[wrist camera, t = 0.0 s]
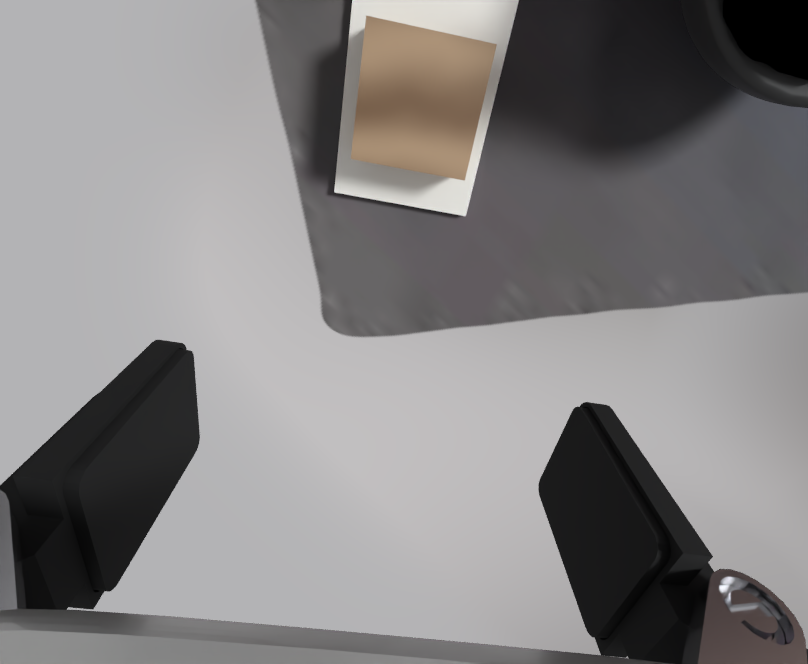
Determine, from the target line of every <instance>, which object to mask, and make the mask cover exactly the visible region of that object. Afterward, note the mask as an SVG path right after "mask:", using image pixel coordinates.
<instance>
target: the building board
mask: <svg viewBox="0 0 808 664" xmlns="http://www.w3.org/2000/svg"><path fill="white" fill-rule="evenodd" d="M518 2H519V0H352V9H351V20H350V30H349V41H348V51H347V62H346V73H345V83H344V94H343V104H342V115H341V126H340V136H339V147H338V157H337V168H336V179H335V189H334V192H335V193H341V194H346V195H352V196H357V197H363V198H368V199H374V200H379V201H385V202H390V203H396V204H401V205H407V206H412V207H418V208H423V209H429V210H434V211H440V212H445V213H451V214H456V215H462V216H466V213H467V209H468V205H469V201H470V197H471V193H472V188H473V184H474V180H475V176H476V172H477V168H478V164H479V160H480V156H481V152H482V148H483V144H484V140H485V136H486V132H487V128H488V124H489V120H490V116H491V111H492V107H493V103H494V99H495V95H496V91H497V87H498V83H499V79H500V75H501V71H502V67H503V63H504V59H505V55H506V51H507V47H508V43H509V39H510V34H511V30H512V26H513V22H514V18H515V14H516V10H517V6H518ZM366 16H371V17H375V18H380V19H384V20H389V21H394V22H398V23H403V24H407V25H412V26H416V27H421V28H425V29H430V30H434V31H439V32H444V33H448V34H453V35H457V36H462V37H466V38H471V39H475V40H480V41H484V42H489V43H494V44H497V46H496V50H495V55H494V59H493V63H492V67H491V72H490V76H489V80H488V84H487V89H486V93H485V97H484V101H483V105H482V110H481V114H480V118H479V122H478V127H477V131H476V135H475V139H474V144H473V148H472V152H471V156H470V161H469V165H468V169H467V173H466V177H465V181H464V180H459V179H454V178H448V177H443V176H438V175H432V174H427V173H422V172H417V171H411V170H406V169H401V168H395V167H390V166H385V165H380V164H374V163H369V162H364V161H359V160H353V159H351V151H352V142H353V133H354V123H355V114H356V105H357V96H358V87H359V77H360V68H361V59H362V50H363V40H364V31H365V22H366Z"/></svg>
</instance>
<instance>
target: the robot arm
mask: <svg viewBox="0 0 808 664" xmlns="http://www.w3.org/2000/svg"><path fill="white" fill-rule="evenodd" d="M199 438H200V435H199V422H198V408H197V395H196V383H195V368H194V356H193V353H192V351H188V350H186V347H185V345H184V344H183V343H177V342H170V341H163V340H155V341H154V342H152V343H151V344H150V345H149V346H148V347H147V348H146V349H145V350H144V351H143V352H142V353H141V354H140V355H139V356H138V357H137V358H136V359H134V361H132V362H131V363H130V364H129V365H128V366H127V367H126V368H125V369H124V370H123V371H122V372H121V373H120V374H119V375H118V376H117V377H116V378H115V379H114V380H113V381H112V382H110V383H109V384H108V385H107V386H106V387H105V388H104V389H103V390H102V391H101V392H100V393H98V394H97V395H95V396H94V397H93V398H92V399H91V400H90V401H89V402H88V403H87V404H86V405H85V406H84V407H82V408H81V409H80V411H78V412H77V413H76V414H75V415H74V416H73V417H72V418H71V419H70V420H69V421H68V422H67V423H66V424H64V425H63V426H62V427H61V428H60V429H59V430H58V431H57V432H56V433H55V434H54V435H53V436H52V437H51V438H50V439H49V440H48V441H47V442H46V443H44V444H43V445H42V446H41V447H40V448H39V449H38V450H37V451H36V452H35V453H34V454H33V455H32V456H31V457H30V458H29V459H28V460H27V461H26V462H24V463H23V465H21V466H20V467H19V468H18V469H17V470H16V471H15V472H14V473H13V474H12V475H11V476H10V477H9V478H8V479H7V480H6V481H4V482H3V483H2V485H0V664H808V649H806V641H805V637H804V634H803V630H802V628H801V626H800V625H799V622H798V621H797V619H796V617H795V616H794V614H793V613H792V612H791V611H790V610H789V608H788V607H787V606H786V605H785V604H784V602H783V601H782V600H780V599H779V598H778V597H777V596H776V595H775V594H774V593H773V592H772V591H771V590H769V589H768V588H767V587H765V586H764V585H762V584H761V583H759V582H758V581H757V580H755V579H753V578H751V577H749V576H747V575H745V574H743V573H741V572H738V571H734V570H731V569H719V570H717V571H715V572H714V571H713V569H712V568H711V566H710V565H709V564H708V561H710V559H711V558H712V557H713V556H712V555H711V553H710V552H709V550H708V549H707V548H706V546H705V544H704V543H703V542H702V540H701V539H700V537H699V536H698V534H697V533H696V531H695V530H694V528H693V527H692V525H691V524H690V522H689V521H688V520H687V518H686V517H685V515H684V514H683V512H682V511H681V509H680V508H679V506H678V505H677V504H676V502H675V501H674V499H673V498H672V496H671V495H670V493H669V492H668V490H667V489H666V487H665V486H664V485H663V483H662V482H661V480H660V479H659V477H658V476H657V474H656V473H655V471H654V470H653V468H652V467H651V466H650V464H649V462H648V461H647V460H646V458H645V457H644V455H643V454H642V453H641V451H640V449H639V448H638V447H637V445H636V444H635V442H634V441H633V439H632V438H631V436H630V435H629V433H628V432H627V430H626V429H625V427H624V426H623V425H622V423H621V422H620V420H619V419H618V417H617V416H616V414H615V413H614V411H613V410H612V409H611V408H610V406H607V405H602V404H595V403H589V402H585V403H583V404H581V406H580V407H575V408H574V409H573V411H572V413H571V415H570V417H569V419H568V422H567V424H566V426H565V428H564V430H563V432H562V434H561V436H560V438H559V441H558V443H557V445H556V447H555V449H554V451H553V453H552V455H551V458H550V460H549V462H548V464H547V466H546V468H545V470H544V472H543V474H542V476H541V479H540V482H539V495H540V498H541V501H542V504H543V507H544V510H545V512H546V515H547V518H548V521H549V524H550V527H551V529H552V532H553V535H554V538H555V541H556V544H557V547H558V549H559V552H560V555H561V558H562V561H563V564H564V567H565V570H566V573H567V575H568V578H569V581H570V584H571V587H572V590H573V592H574V595H575V598H576V601H577V604H578V607H579V610H580V612H581V616H582V618H583V621H584V624H585V627H586V629H587V631H588V633H589V634H590V635H591V636H592V637H595V639H596V642H597V645H598V648H599V651H600V653H601V655H603V656H601V655H591V654H581V653H570V652H560V651H549V650H539V649H529V648H518V647H507V646H498V645H488V644H477V643H466V642H455V641H444V640H434V639H423V638H412V637H400V636H390V635H377V634H368V633H356V632H345V631H334V630H323V629H312V628H300V627H288V626H276V625H264V624H253V623H241V622H230V621H217V620H206V619H194V618H183V617H171V616H156V615H140V614H126V613H110V612H96V611H81V610H67V608H68V607H73V608H84V609H94V607H95V606H96V604H97V602H98V601H99V599H100V597H101V595H102V594H103V593H104V591H111V590H112V589H114V587H116V585H117V584H118V582H119V581H120V579H121V577H122V576H123V574H124V572H125V570H126V569H127V567H128V565H129V564H130V562H131V560H132V558H133V557H134V555H135V554H136V552H137V550H138V548H139V547H140V545H141V543H142V542H143V540H144V538H145V537H146V535H147V533H148V532H149V530H150V528H151V527H152V525H153V523H154V522H155V520H156V518H157V517H158V515H159V513H160V511H161V510H162V508H163V506H164V505H165V503H166V501H167V500H168V498H169V496H170V495H171V493H172V491H173V489H174V488H175V486H176V484H177V483H178V481H179V479H180V478H181V476H182V474H183V473H184V471H185V469H186V468H187V466H188V464H189V463H190V461H191V459H192V458H193V456H194V454H195V452H196V450H197V448H198V444H199ZM627 655H628V658H629V659H627V658H626V657H627ZM610 656H614V657H610ZM619 657H625V658H619Z"/></svg>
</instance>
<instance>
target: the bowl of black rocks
mask: <svg viewBox="0 0 808 664" xmlns="http://www.w3.org/2000/svg"><path fill="white" fill-rule="evenodd" d="M680 2H681V7H682V13H683V17H684V20H685V24H686V27H687V30H688V32H689V34H690V37H691V39H692V41H693V43H694V45H695V46H696V48H697V50H698V51H699V53H700V55H701V56H702V57H703V59H704V60H705V61H706V63H707V64H708V65H709V66H710V67H711V68H712V69H713V70H714V71H715V72H716V73H717V74H718V75H719V76H720V77H722V78H723V79H724V80H726V81H727V82H728V83H730V84H731V85H732V86H734V87H736V88H738V89H740V90H741V91H743V92H745V93H747V94H749V95H751V96H754V97H757V98H759V99H762V100H765V101H769V102H773V103H777V104H782V105H787V106H794V107H804V108H808V0H680Z"/></svg>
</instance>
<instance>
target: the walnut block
mask: <svg viewBox="0 0 808 664" xmlns="http://www.w3.org/2000/svg"><path fill="white" fill-rule="evenodd" d="M496 46H497V44H494V43H489V42H484V41H480V40H475V39H471V38H466V37H462V36H457V35H453V34H448V33H444V32H439V31H434V30H430V29H425V28H421V27H416V26H412V25H407V24H403V23H398V22H394V21H389V20H384V19H380V18H375V17H371V16H366V22H365V31H364V40H363V50H362V59H361V68H360V77H359V87H358V96H357V105H356V114H355V123H354V133H353V142H352V151H351V159H353V160H359V161H364V162H369V163H374V164H380V165H385V166H390V167H395V168H401V169H406V170H411V171H417V172H422V173H427V174H432V175H438V176H443V177H448V178H454V179H459V180H464V181H465V177H466V173H467V169H468V165H469V161H470V156H471V152H472V148H473V144H474V139H475V135H476V131H477V127H478V122H479V118H480V114H481V110H482V105H483V101H484V97H485V93H486V89H487V84H488V80H489V76H490V72H491V67H492V63H493V59H494V55H495V50H496Z"/></svg>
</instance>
